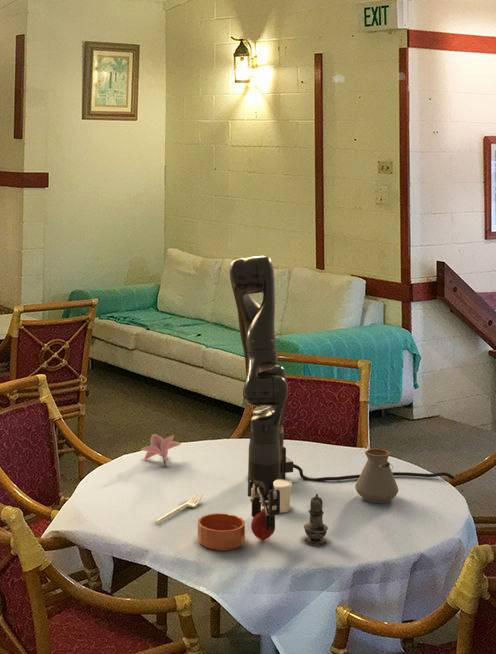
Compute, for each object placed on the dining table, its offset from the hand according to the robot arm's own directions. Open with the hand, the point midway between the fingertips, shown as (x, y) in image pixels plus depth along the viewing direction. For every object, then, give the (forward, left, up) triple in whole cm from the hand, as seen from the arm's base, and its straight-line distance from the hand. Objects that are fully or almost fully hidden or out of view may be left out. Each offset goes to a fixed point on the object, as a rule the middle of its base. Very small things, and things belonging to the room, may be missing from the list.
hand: (262, 523), depth 232 cm
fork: (+14, -23, -5) cm, 27 cm away
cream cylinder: (-12, -18, -5) cm, 22 cm away
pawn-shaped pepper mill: (-12, +4, -5) cm, 14 cm away
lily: (+7, -62, -5) cm, 63 cm away
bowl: (+10, -2, -4) cm, 11 cm away
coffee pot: (-39, -13, -5) cm, 42 cm away
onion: (0, 0, -5) cm, 5 cm away
